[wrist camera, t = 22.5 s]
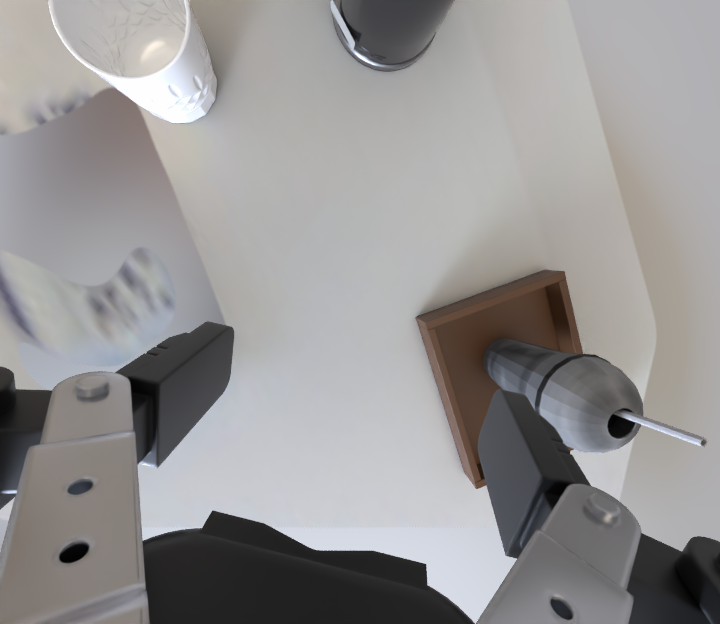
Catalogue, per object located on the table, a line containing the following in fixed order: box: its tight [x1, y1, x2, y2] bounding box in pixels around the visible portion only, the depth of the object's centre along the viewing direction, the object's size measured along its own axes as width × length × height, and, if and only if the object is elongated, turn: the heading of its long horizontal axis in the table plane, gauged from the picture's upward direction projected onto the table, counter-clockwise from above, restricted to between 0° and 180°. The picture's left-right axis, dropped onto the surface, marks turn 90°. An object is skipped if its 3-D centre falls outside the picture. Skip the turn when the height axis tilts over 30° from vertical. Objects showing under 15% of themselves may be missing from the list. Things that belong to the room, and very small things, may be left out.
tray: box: [416, 270, 583, 489], centre depth 39 cm, size 19×15×3 cm
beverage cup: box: [482, 338, 708, 453], centre depth 30 cm, size 7×7×20 cm
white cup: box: [48, 0, 217, 123], centre depth 28 cm, size 8×8×10 cm
